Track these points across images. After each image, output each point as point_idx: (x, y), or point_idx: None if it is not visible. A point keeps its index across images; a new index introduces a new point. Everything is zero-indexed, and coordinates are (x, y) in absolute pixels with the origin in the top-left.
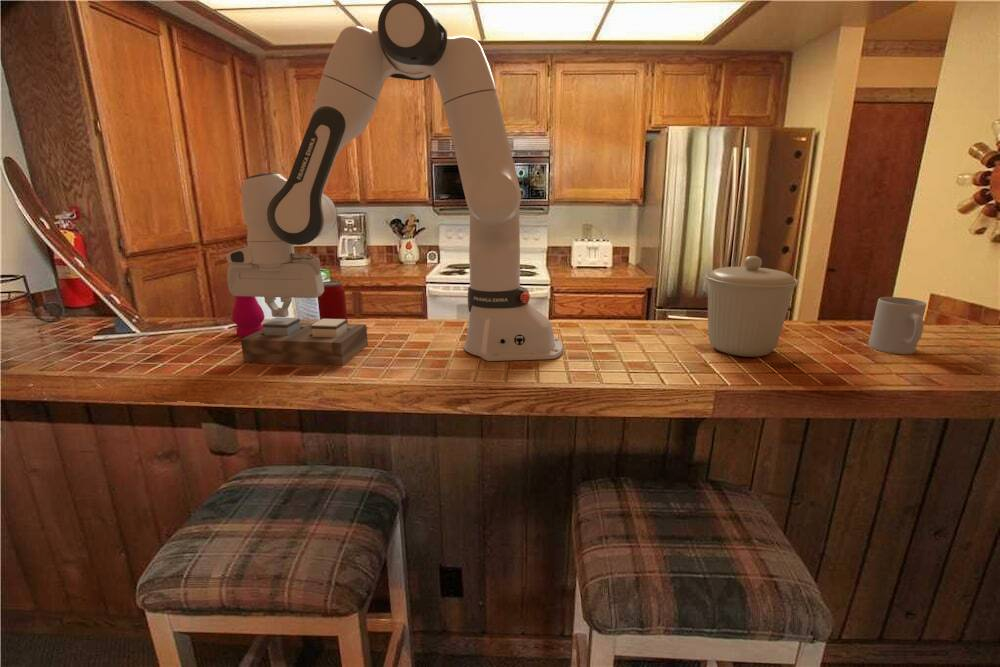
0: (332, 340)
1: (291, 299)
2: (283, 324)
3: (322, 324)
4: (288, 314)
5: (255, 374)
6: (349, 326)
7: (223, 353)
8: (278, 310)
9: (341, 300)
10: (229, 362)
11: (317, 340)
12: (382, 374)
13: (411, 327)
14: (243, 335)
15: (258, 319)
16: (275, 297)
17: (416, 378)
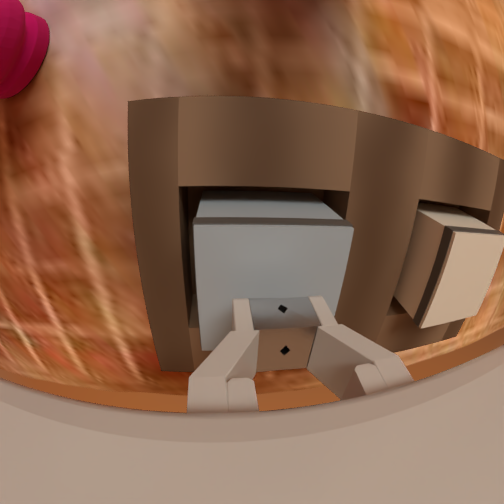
0: (444, 328)
1: (399, 364)
2: None
3: (450, 312)
4: (321, 296)
5: (257, 373)
6: (486, 186)
7: (58, 256)
8: (288, 365)
9: None
10: (133, 321)
11: (414, 338)
12: (468, 320)
13: (495, 20)
14: (9, 96)
15: (12, 48)
16: (256, 399)
17: (492, 319)
